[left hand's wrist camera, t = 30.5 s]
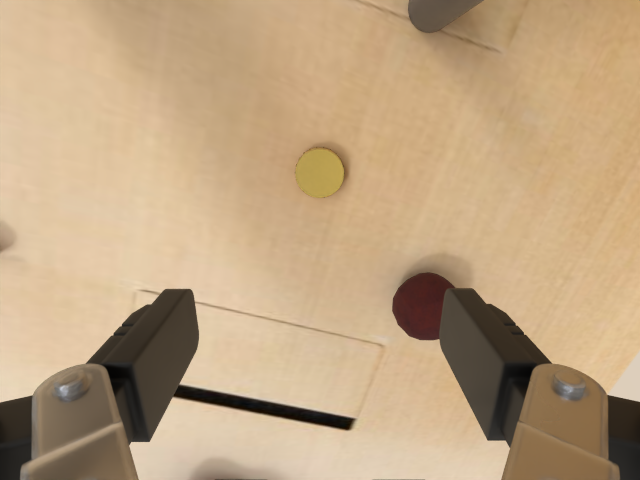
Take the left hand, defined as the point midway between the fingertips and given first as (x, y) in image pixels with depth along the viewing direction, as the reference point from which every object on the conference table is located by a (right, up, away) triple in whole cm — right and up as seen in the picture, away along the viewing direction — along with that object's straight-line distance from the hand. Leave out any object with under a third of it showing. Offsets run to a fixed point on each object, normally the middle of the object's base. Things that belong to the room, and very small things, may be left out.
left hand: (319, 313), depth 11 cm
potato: (+12, -4, +32) cm, 34 cm away
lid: (0, +9, +26) cm, 27 cm away
